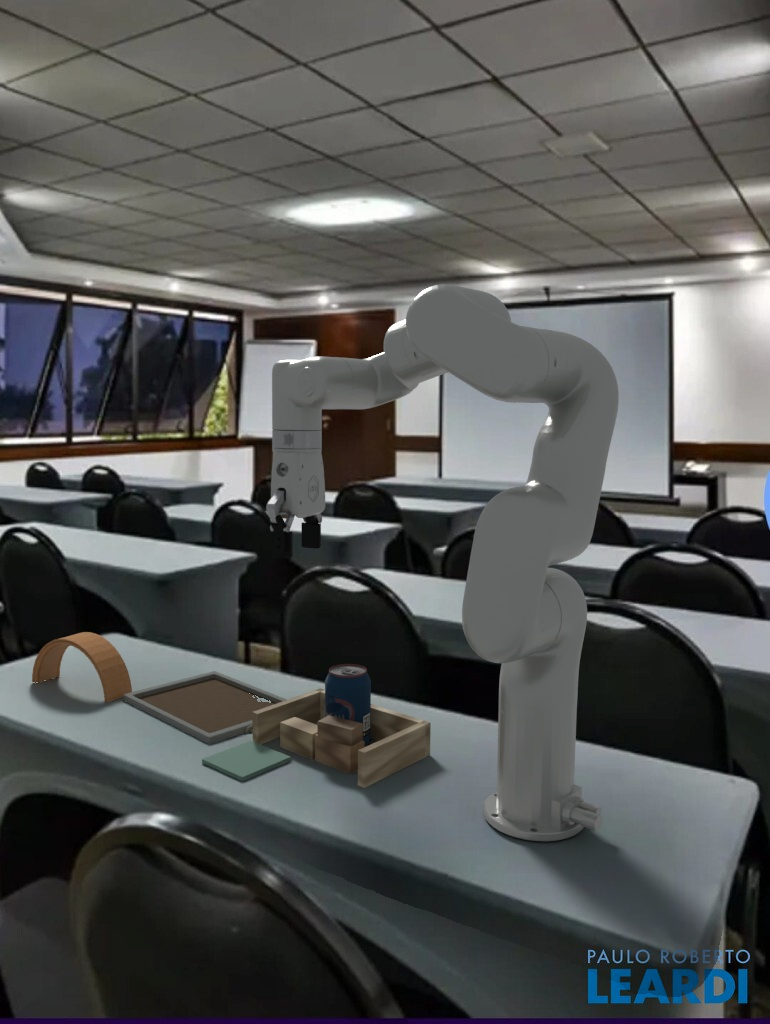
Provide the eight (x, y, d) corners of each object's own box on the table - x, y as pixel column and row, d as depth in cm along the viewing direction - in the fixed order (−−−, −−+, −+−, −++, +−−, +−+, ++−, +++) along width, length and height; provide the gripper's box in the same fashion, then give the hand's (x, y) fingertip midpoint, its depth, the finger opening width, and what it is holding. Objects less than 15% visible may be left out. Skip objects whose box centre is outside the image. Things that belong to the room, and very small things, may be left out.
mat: (290, 760, 120) (290, 756, 120) (242, 781, 113) (242, 777, 113) (250, 744, 126) (250, 740, 126) (202, 763, 119) (202, 759, 119)
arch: (106, 703, 144) (104, 647, 143) (31, 684, 154) (29, 632, 153) (132, 694, 149) (130, 640, 148) (58, 676, 159) (56, 625, 158)
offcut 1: (326, 754, 123) (326, 728, 123) (312, 760, 121) (312, 734, 120) (294, 741, 128) (294, 716, 127) (280, 747, 125) (280, 722, 125)
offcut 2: (364, 768, 118) (364, 741, 118) (350, 775, 116) (350, 747, 115) (329, 754, 123) (329, 729, 122) (315, 761, 120) (314, 734, 120)
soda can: (316, 749, 124) (315, 672, 123) (340, 733, 130) (340, 660, 129) (355, 758, 121) (355, 679, 120) (378, 742, 127) (379, 667, 126)
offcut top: (362, 739, 118) (362, 723, 118) (352, 746, 116) (352, 729, 116) (328, 731, 121) (328, 715, 121) (317, 737, 119) (317, 721, 119)
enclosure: (430, 754, 123) (430, 722, 122) (364, 788, 112) (364, 752, 111) (320, 717, 137) (320, 688, 137) (252, 743, 126) (252, 712, 126)
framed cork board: (214, 670, 159) (316, 710, 138) (214, 678, 159) (316, 719, 138) (122, 694, 145) (218, 742, 124) (122, 703, 145) (219, 752, 124)
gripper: (292, 444, 117) (293, 563, 119) (342, 441, 133) (341, 546, 135) (246, 443, 119) (247, 559, 122) (300, 439, 135) (300, 542, 138)
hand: (297, 552), depth 128 cm, fingers open, 9 cm apart
